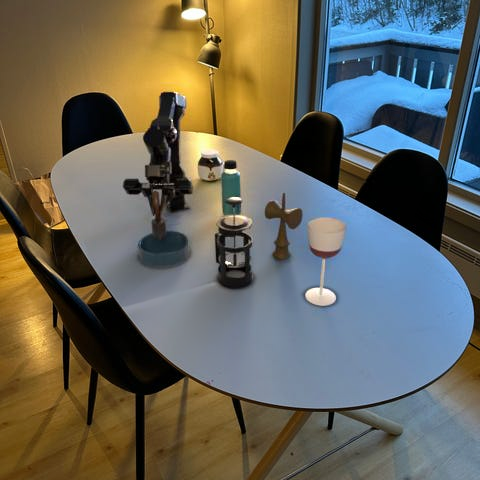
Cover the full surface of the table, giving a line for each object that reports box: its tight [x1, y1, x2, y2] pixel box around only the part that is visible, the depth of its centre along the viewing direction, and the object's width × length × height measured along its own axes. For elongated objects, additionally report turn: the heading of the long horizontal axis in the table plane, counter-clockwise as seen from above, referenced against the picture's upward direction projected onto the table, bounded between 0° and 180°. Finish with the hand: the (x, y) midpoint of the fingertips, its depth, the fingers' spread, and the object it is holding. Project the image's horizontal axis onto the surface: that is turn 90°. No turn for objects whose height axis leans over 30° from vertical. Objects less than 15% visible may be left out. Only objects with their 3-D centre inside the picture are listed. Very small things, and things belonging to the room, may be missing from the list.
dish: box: [137, 230, 190, 267], centre depth 129 cm, size 14×14×4 cm
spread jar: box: [197, 149, 228, 183], centre depth 183 cm, size 12×11×12 cm
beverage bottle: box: [220, 159, 242, 216], centre depth 147 cm, size 6×7×20 cm
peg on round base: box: [150, 190, 168, 240], centre depth 124 cm, size 4×4×14 cm
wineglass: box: [305, 217, 347, 307], centre depth 107 cm, size 8×9×20 cm
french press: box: [214, 197, 254, 290], centre depth 114 cm, size 12×9×23 cm
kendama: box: [264, 192, 304, 261], centre depth 124 cm, size 6×10×20 cm, turn 46°
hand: (156, 215), depth 123 cm, fingers closed on peg on round base, 2 cm apart
